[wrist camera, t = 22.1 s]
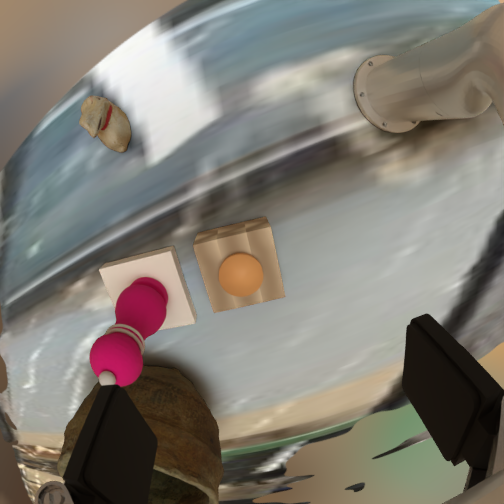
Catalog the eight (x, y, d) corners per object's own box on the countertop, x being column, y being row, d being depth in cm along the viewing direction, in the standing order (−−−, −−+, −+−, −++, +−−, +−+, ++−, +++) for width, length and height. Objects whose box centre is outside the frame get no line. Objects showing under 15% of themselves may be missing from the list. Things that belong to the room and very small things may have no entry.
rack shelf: (173, 245, 45) (170, 251, 42) (196, 315, 49) (195, 323, 46) (104, 263, 45) (98, 269, 42) (131, 327, 49) (127, 335, 46)
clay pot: (246, 373, 53) (256, 492, 29) (194, 442, 59) (187, 536, 36) (114, 315, 48) (52, 423, 24) (88, 399, 54) (51, 488, 30)
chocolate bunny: (134, 99, 37) (109, 86, 28) (130, 152, 40) (103, 153, 30) (100, 101, 37) (68, 91, 27) (96, 152, 39) (63, 155, 30)
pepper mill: (174, 316, 46) (146, 412, 27) (130, 316, 45) (85, 405, 26) (168, 272, 43) (129, 358, 24) (122, 273, 43) (62, 353, 24)
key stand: (265, 216, 44) (270, 226, 38) (279, 279, 47) (285, 296, 42) (197, 232, 44) (192, 245, 39) (215, 293, 48) (213, 312, 42)
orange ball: (254, 235, 44) (258, 250, 38) (262, 270, 46) (267, 291, 40) (216, 244, 44) (213, 261, 38) (225, 279, 46) (225, 300, 40)
